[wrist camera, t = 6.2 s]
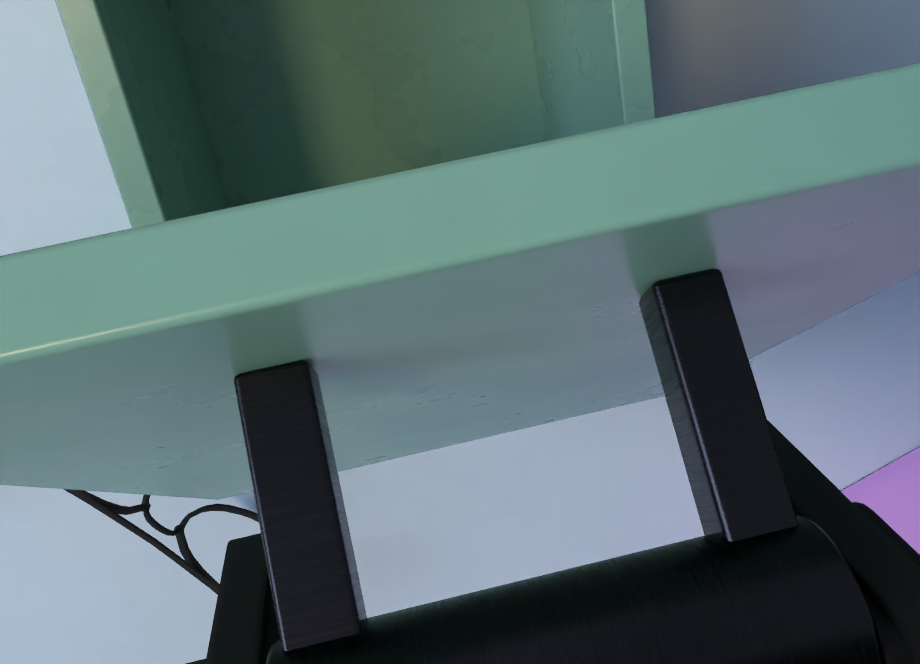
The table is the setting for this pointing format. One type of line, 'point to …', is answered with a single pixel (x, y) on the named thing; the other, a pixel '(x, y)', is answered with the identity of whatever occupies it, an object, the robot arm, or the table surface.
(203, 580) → the glasses
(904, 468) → the chair
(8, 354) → the green box lid
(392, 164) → the green open box
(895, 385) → the table surface
